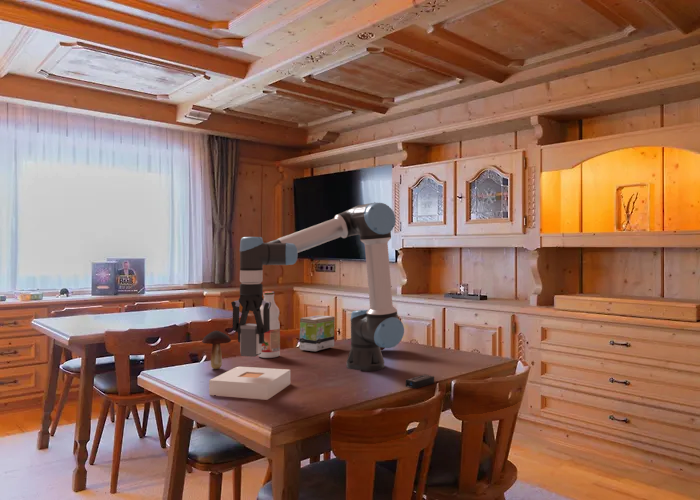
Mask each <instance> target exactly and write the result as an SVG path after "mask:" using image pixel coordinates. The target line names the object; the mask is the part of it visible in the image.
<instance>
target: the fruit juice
mask: <svg viewBox="0 0 700 500" xmlns="http://www.w3.org/2000/svg"><path fill="white" fill-rule="evenodd" d="M262 297H263V299H264V301H266V302H271V306H270V330H269V331H268V332H265V333H264V343H262V353H261V354H260V355H258V357H259V358H263V359H272V358H278V357H279V356H280V355H281V343H280V342H281V333H280V332H281V329H280V327H281V324H280V320H279V318H280V308H279V307H278V305H277V304H276V302H275V291H268V290H267V291H263V294H262ZM263 309H264V308H263V304H262V305H261V306H260V310H261V317H262V322H263Z"/></svg>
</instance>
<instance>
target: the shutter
mask: <svg viewBox="0 0 700 500" xmlns="http://www.w3.org/2000/svg"><path fill="white" fill-rule="evenodd" d="M261 375H263V374H248V373H247V374H245V375H243V376H241V377H251V378H257V377H259V376H261Z"/></svg>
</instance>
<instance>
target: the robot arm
mask: <svg viewBox="0 0 700 500" xmlns="http://www.w3.org/2000/svg"><path fill="white" fill-rule="evenodd" d="M395 226H396V215H395V212H394V210H393V209H392V208H391V207H390V206H389V205H388V204H387V203H385V202H384V203H383V202H375V201H374V202H370V203H366V204H364V203H363V204H358V205H356V206H353V207H351V208H350V209H347V210H345V211H343V212H340V213H338V214H335V215H334V217H333V218H332V219H329V220H325V221H323V222H321V223H318V224H314V225H312V226H309V227H307V228H304V229H301V230H299V231H295V232H293V233H290V234H287V235H284V236H281V237H279V238H277V239H273V240H271V241H268V242H264V241H263V237H262V236H243V237H241V238H240V243H239V282H240V284H239V298H238V299H237V300H234V301H231V303H230V304H231V307H232V331H233V332H236V333H237V342H238V343H240V344H239V345H240V347H239V349H240V351H239V352H240V353H239V354H241V329H240V326H241V325H244V324H247V319H248V316H249V313H250V312H252V314H253V315H254V320H255V324H257V329H258V334H256V354H260V353H262V343H264V333H265V332H268V331H269V330H270V306H271V302H266V301H264V296H263V292H264V289H263V288H264V287H263V286H264V285H263V283H262V282H263V279H264V278H263V275H264V274H263V273H264V272H263V271H264V266H289V265H290V266H292V265H294V264H296V263H297V261H298V256H299V254H298V253H301V252H303V251H306V250H307V251H308V250H310V249H312V248H315V247H317V246H320V245H322V244H325V243H327V242H330V241H333V240H336V239H339V238H342V239H346V238H349V237H351V236H357V235H358V236H359V237H360V238H359V240H360V242H361V243H363V244H364V252H365V264H366V275H367V287H368V299H369V308H368V309H359V310H358V309H357V310H353V311H351V313H350V350H349V352H348V357H347V359H346V369H349V370H356V371H361V372H375V371H379V370H380V371H381V370H383V369H384V368H385V359H384V356H383V354H382V350H380V347H382V348H385V349H392V348H394V347H396V346H398V345H399V344H400V342H401V341H402V340H403V337H404V335H405V326H404V324H403V322H402V321H401V320H400V318H399V315H398V310H397V308H396V307H394V305H393V294H392V287H391V286H392V282H391V279H392V278H391V269H390V268H391V267H390V257H389V256H390V255H389V254H390V253H389V242H390V240H391V239H392V231H393V230H394V228H395ZM262 304H263V308H264V309H263V322H262V317H261V310H260V307H261V306H262ZM240 306H241V307H242V308H241V315H240ZM397 315H398V316H397ZM398 318H399V319H398Z"/></svg>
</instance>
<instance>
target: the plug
mask: <svg viewBox="0 0 700 500" xmlns="http://www.w3.org/2000/svg"><path fill="white" fill-rule="evenodd" d="M240 329H241V353H240V356H241V357H250V358H251V357H253V358H255V357H257V356H258V355H260V354H261V353H260V354H256V334H258V329H257V324H256V323H246V324H244V325H241V326H240ZM258 357H259V356H258Z"/></svg>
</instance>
